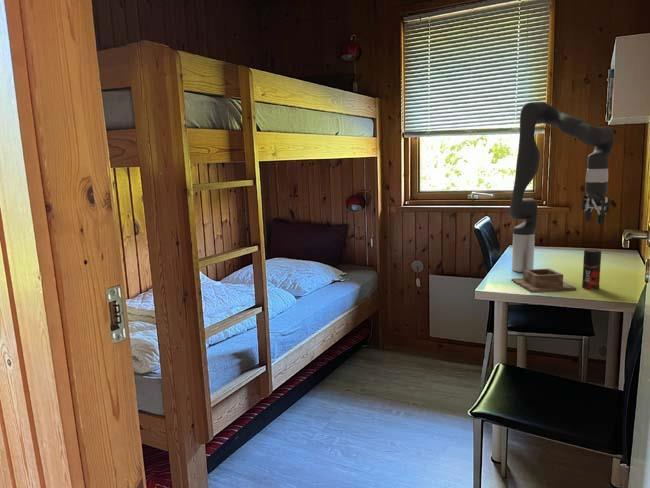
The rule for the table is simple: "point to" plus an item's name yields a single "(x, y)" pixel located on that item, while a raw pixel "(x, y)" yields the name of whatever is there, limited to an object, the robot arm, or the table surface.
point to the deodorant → (591, 269)
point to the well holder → (543, 281)
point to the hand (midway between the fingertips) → (594, 222)
